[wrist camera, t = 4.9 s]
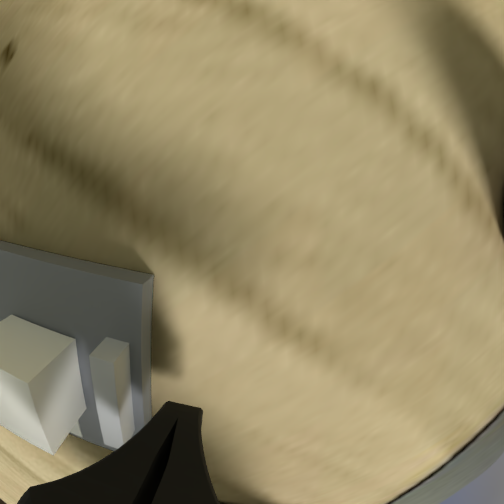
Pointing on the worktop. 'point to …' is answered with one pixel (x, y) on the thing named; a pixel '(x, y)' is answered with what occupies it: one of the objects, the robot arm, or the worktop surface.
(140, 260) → the worktop surface
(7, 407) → the off-white rectangular block
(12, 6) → the worktop surface
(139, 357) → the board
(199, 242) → the worktop surface
